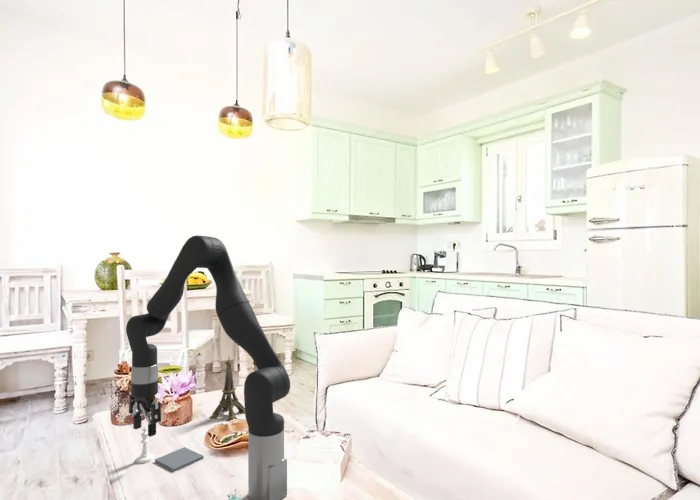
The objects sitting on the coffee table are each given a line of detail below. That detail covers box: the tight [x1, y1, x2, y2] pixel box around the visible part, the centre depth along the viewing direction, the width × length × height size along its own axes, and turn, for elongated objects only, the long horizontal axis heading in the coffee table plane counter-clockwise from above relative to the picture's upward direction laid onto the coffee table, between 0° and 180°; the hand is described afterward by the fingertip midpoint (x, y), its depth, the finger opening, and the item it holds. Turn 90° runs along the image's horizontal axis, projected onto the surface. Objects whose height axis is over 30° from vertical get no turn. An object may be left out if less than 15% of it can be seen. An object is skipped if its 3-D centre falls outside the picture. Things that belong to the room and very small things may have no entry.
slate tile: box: [154, 446, 205, 473], centre depth 134 cm, size 10×10×1 cm
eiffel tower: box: [208, 357, 245, 422], centre depth 170 cm, size 11×11×25 cm
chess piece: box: [135, 426, 155, 464], centre depth 134 cm, size 5×5×10 cm
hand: (144, 431), depth 134 cm, fingers open, 8 cm apart
